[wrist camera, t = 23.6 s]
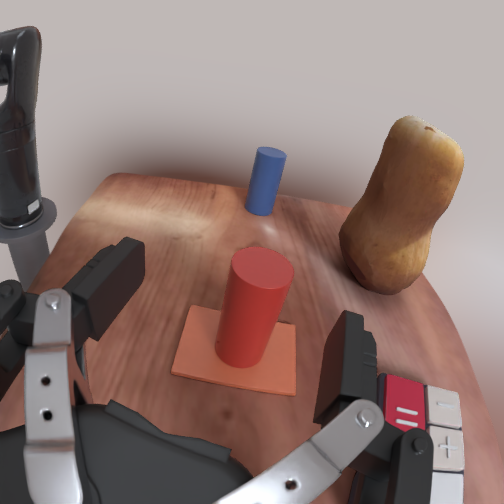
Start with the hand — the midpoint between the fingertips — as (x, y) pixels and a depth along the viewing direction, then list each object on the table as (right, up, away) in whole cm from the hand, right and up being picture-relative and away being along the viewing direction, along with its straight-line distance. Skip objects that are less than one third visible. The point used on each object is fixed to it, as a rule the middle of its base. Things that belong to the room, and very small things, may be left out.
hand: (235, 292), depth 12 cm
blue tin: (+2, +9, +45) cm, 46 cm away
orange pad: (-1, -9, +20) cm, 21 cm away
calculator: (+16, -19, +12) cm, 27 cm away
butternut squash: (+18, -3, +34) cm, 39 cm away
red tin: (-1, -8, +19) cm, 21 cm away
